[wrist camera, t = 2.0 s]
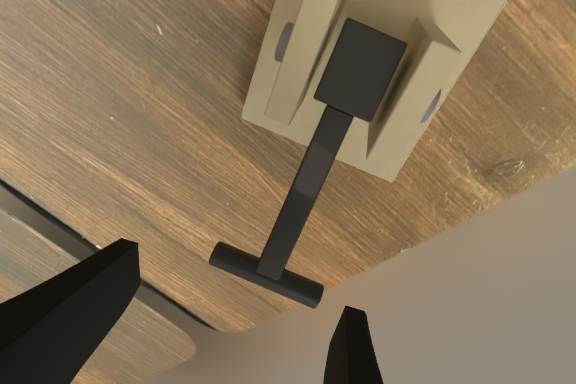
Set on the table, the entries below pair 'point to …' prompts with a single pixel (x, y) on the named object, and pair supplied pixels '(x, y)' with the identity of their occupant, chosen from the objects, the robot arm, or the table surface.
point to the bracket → (403, 86)
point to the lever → (320, 156)
